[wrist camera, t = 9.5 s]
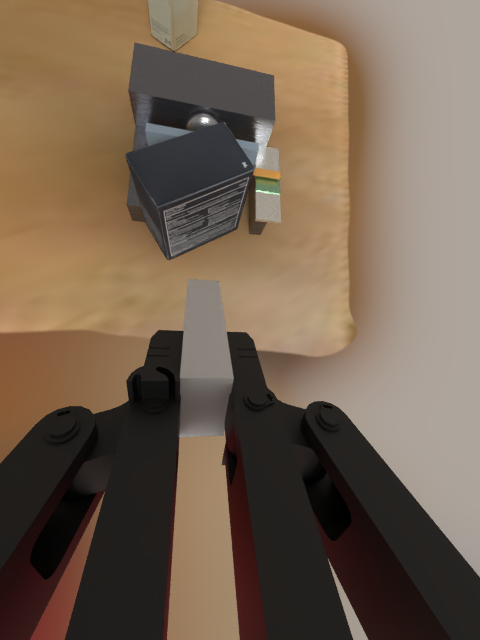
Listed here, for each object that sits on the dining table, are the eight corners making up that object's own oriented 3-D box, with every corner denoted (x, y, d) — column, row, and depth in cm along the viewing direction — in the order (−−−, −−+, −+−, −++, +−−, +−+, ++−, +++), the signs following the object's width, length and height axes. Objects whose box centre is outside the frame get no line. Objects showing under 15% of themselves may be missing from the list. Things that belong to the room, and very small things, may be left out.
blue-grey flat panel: (154, 171, 33) (146, 122, 26) (272, 189, 36) (290, 149, 29) (153, 178, 32) (145, 130, 26) (272, 195, 35) (290, 156, 29)
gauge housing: (144, 105, 36) (134, 42, 29) (269, 129, 39) (286, 78, 32) (132, 220, 32) (117, 179, 25) (272, 236, 35) (291, 203, 29)
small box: (214, 190, 35) (224, 116, 25) (239, 229, 35) (259, 169, 24) (142, 219, 32) (121, 148, 22) (167, 262, 32) (158, 209, 22)
